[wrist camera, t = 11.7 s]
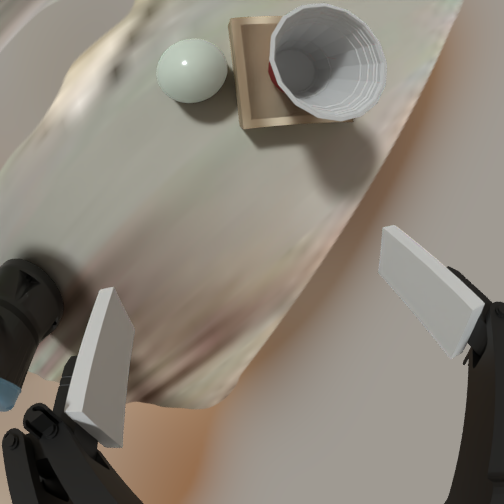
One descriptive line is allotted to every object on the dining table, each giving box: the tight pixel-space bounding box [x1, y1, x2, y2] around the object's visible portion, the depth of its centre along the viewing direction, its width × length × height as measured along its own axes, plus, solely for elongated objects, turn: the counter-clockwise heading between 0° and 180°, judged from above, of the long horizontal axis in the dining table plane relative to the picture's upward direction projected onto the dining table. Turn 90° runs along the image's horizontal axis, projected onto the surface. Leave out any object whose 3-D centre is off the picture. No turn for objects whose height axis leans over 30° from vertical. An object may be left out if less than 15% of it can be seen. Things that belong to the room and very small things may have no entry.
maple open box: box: [228, 16, 353, 129], centre depth 31 cm, size 14×14×4 cm
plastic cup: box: [268, 3, 387, 121], centre depth 24 cm, size 11×11×12 cm
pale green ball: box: [157, 39, 227, 103], centre depth 29 cm, size 8×8×4 cm
